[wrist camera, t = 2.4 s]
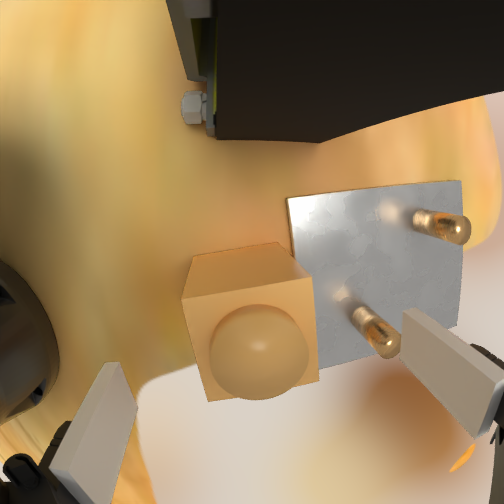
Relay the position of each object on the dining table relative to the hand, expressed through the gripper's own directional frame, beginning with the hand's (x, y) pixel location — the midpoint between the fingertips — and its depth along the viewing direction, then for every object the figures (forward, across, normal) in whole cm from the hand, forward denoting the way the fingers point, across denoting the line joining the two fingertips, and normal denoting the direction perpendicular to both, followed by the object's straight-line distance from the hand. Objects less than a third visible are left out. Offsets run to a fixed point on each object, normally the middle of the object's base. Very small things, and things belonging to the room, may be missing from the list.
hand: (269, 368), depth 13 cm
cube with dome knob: (+10, 0, 0) cm, 10 cm away
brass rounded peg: (+10, +15, +3) cm, 18 cm away
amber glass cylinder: (+10, +9, -4) cm, 14 cm away
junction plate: (+10, +12, -1) cm, 16 cm away
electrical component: (+10, +4, +19) cm, 22 cm away
